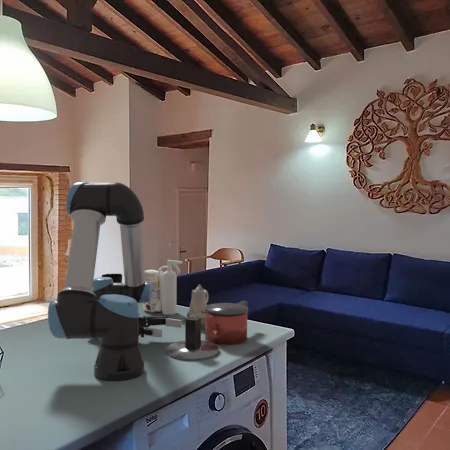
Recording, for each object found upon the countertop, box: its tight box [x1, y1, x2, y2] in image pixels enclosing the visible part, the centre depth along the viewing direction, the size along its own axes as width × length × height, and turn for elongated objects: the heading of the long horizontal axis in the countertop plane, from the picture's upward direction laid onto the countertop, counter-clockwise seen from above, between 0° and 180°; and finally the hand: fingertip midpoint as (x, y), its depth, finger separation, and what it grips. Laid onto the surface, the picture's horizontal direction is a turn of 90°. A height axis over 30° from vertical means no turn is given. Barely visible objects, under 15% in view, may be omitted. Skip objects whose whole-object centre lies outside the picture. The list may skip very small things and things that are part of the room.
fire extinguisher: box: [154, 259, 183, 316], centre depth 220 cm, size 7×12×25 cm, turn 90°
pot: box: [204, 300, 249, 346], centre depth 186 cm, size 27×17×12 cm, turn 155°
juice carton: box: [142, 269, 164, 313], centre depth 225 cm, size 8×9×19 cm
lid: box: [166, 317, 220, 361], centre depth 166 cm, size 18×18×12 cm
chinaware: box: [186, 284, 210, 330], centre depth 206 cm, size 28×17×17 cm, turn 155°
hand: (171, 328), depth 170 cm, fingers open, 13 cm apart
